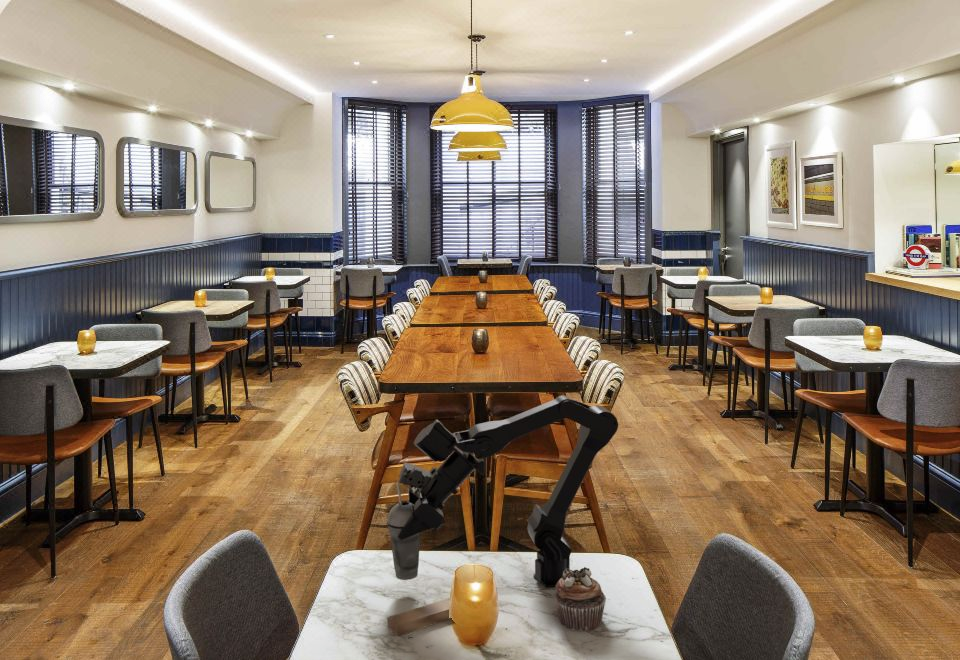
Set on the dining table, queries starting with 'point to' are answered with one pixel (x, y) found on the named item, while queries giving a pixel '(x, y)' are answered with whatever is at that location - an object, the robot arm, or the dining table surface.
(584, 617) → the cupcake
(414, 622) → the walnut block
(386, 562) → the dining table surface
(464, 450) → the robot arm
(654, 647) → the dining table surface
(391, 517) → the beverage cup
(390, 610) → the dining table surface
